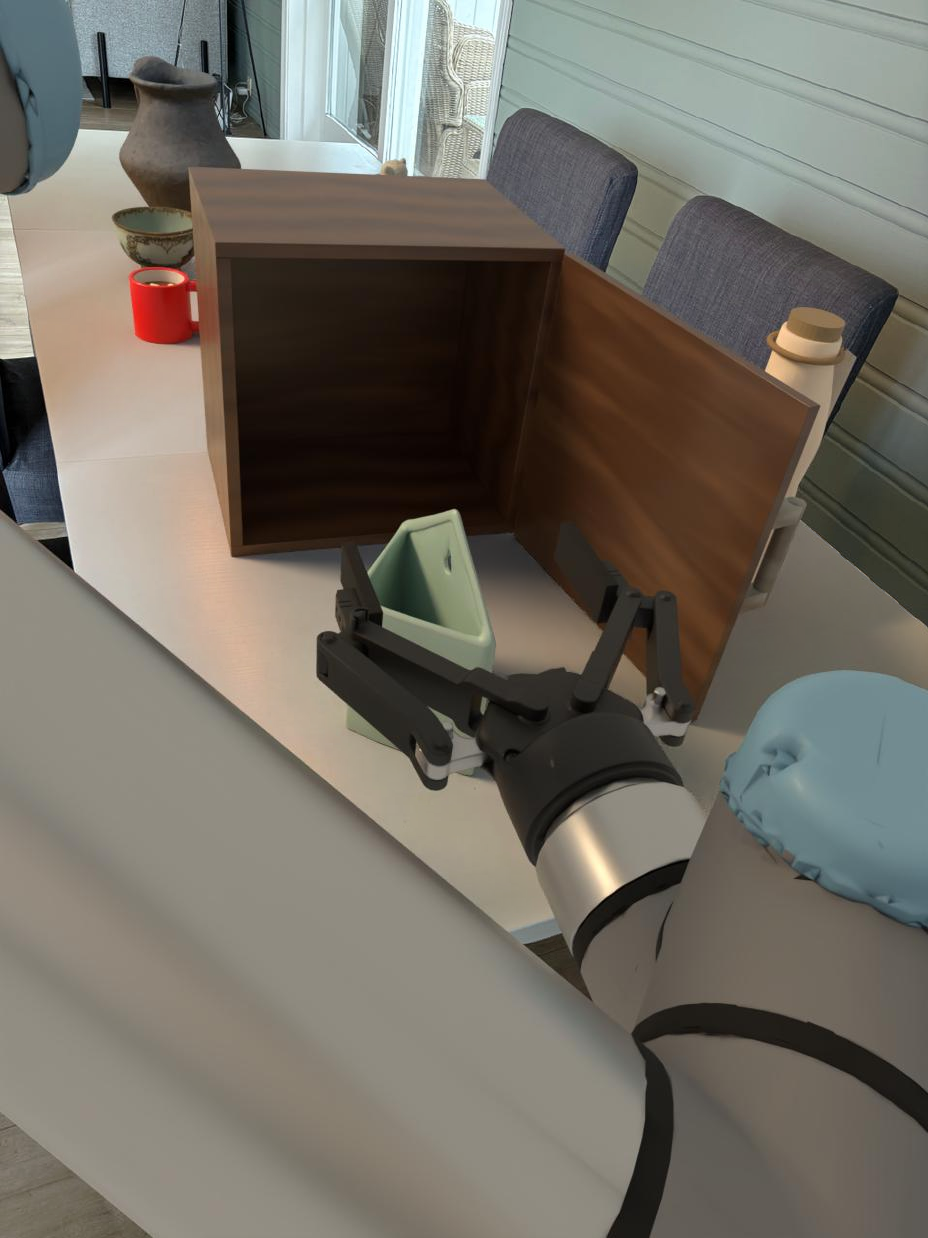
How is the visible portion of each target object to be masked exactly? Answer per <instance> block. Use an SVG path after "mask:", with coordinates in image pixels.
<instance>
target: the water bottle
mask: <svg viewBox="0 0 928 1238" xmlns="http://www.w3.org/2000/svg"><path fill="white" fill-rule="evenodd" d="M845 327H846V321H845V320H844V319H843V318H842V317H840V316H839V315H837V314H836V313H833V312H830V311H827V310H824V309H821V308H815V307H809V306H798V307H794V308H792V309H791V310H790V312H789V316H788V319H787V321H785V322H784V323H782V326H781V327H780V329H779V330H775V331H772V332H771V333H769V334H768V335H767V337H766V340H765V341H766V345H767V346H768V347H769V349H770V350H771V354H770V356H769V359H768V361H767V364H766V367H765V370H764V371H765V372H767V373H769V374H770V375H772V376H773V377H775V378H777V379H778V380H780V381H782V382H783V383H785V384H786V385H788V386H790V387H791V388H793V389H795V390H796V391H798V392H799V393H801V394H803V395H804V396H806V397H808V398H809V399H811V400H812V401H814V402H816V403H817V404H819V405H820V409H819V411H818V414H817V417H816V419H815V422H814V424H813V427H812V429H811V432H810V434H809V437H808V439H807V442H806V444H805V447H804V449H803V452H802V455H801V457H800V460H799V462H798V465H797V467H796V470H795V472H794V475H793V477H792V480H791V482H790V485H789V487H788V490H787V493H786V495H785V498H787V497H796V495H797V492H798V489H799V485H800V483H801V482H802V480H803V478H804V476H805V475H806V472H807V471H808V469H809V467H810V465H811V463H812V462H813V460H814V458H815V456H816V454H817V452H818V450H819V448H820V445H821V443H822V441H823V437H824V434H825V429H826V426H827V422H828V420H829V418H830V416H831V413H832V412H833V410H834V407H835V405H836V403H837V401H838V398H839V396H840V394H841V392H842V390H843V388H844V386H845V384H846V382H847V380H848V377H849V375H850V373H851V371H852V368H853V367H854V364H855V362H856V360H857V358H858V357H857V356H856V355H855V354H853V353H852V352H851V351H850V350H849V349H847V347H845V346H844V345H843V344H842V343H843V337H842V334H843V331H844V329H845ZM774 339H776V340H775V341H774ZM773 531H774V529H773V530H772V531H771V533H770V536H769V538H768V541H767V543H766V546H765V548H764V551H763V553H762V556H761V558H760V561H759V564H758V566H757V569H756V571H755V574H754V576H753V579H752V581H751V583H753V582H754V579H755V577H756V574H757V572H758V569H759V567H760V564H761V561H762V559H763V556H764V554H765V551H766V549H767V546H768V544H769V541H770V539H771V536H772V534H773Z"/></svg>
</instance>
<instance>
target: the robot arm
mask: <svg viewBox="0 0 928 1238" xmlns="http://www.w3.org/2000/svg"><path fill="white" fill-rule="evenodd" d="M77 37H78V36H77V31H76V27H75V23H74V19H73V15H72V11H71V7H70V6H69V4H68V2H67V0H0V195H3V196H13V197H14V196H20V195H24V194H28V193H29V192H31V191H32V190H34V189H35V188H36V186H37V184H38V183H41V182H43V181H46V180H47V179H49V178H51V177H53V176H54V175H55V174H56V173H58V171H59V170H60V169H61V168H62V167H63V165H64V164H65V163H66V161H67V160H68V159H69V157H70V155H71V153H72V150H73V149H74V147H75V143H76V141H77V139H78V135H79V131H80V126H81V120H82V119H81V118H82V111H83V110H82V109H83V94H84V93H83V74H82V73H83V72H82V71H83V69H82V61H81V54H80V47H79V43H78V38H77ZM340 549H341V551H340V555H341V556H340V578H339V579H340V584H341V587H342V588H341V589H337V590H336V593H335V602H334V603H335V604H334V605H335V607H334V618H335V620H336V623H337V626H338V629H339V632H338V633H337V632H336V631H331V630H325V631H322V632H320V633H318V635H317V636H316V653H315V654H316V656H315V657H316V664H315V675H316V678H317V679H318V680H319V681H320V682H321V683H322V684H323V685H324V686H325V687H327V688H328V689H329V691H331V692H332V693H334V694H335V695H336V696H337V697H338V698H339V699H340V700H342V702H344V703H345V705H346V704H348V705H349V706H350V707H351V708H352V709H353V710H354V711H356V712H357V713H358V714H359V715H360V716H361V717H362V718H364V719H365V720H366V721H367V722H368V723H369V724H370V725H372V726H373V727H374V728H375V729H376V730H377V731H379V732H380V733H381V734H382V735H383V736H384V737H385V738H387V739H388V740H389V741H390V742H391V743H392V744H393V745H395V746H396V747H397V748H398V749H399V750H398V749H397V750H398V751H400V752H401V753H402V754H404V755H405V757H407V758H408V759H409V762H410V763H411V764H412V767H413V768H414V770H415V772H416V774H417V776H418V777H419V779H420V781H421V783H422V785H423V786H424V787H425V789H428V790H429V791H435V792H437V791H442V790H444V789H445V788H446V787H447V786H448V783H449V776H450V775H452V774H457V773H458V772H460V771H464V770H467V769H471V768H474V767H475V768H477V767H478V768H480V769H481V770H483V771H484V772H485V773H486V774H488V775H489V776H490V778H492V779H493V780H494V782H495V784H496V786H497V788H498V789H497V790H498V792H499V794H500V798H501V801H502V803H503V806H504V808H505V810H506V813H507V815H508V817H509V820H510V822H511V824H512V826H513V828H514V830H515V833H516V835H517V837H518V840H519V841H520V844H521V847H522V849H523V850H524V853H525V855H526V857H527V859H528V861H529V862H530V864H531V865H532V866H533V867H535V872H536V877H537V881H538V883H539V886H540V888H541V891H542V892H543V894H544V896H545V899H546V901H547V902H548V903H547V904H548V905H549V908H550V910H551V912H552V915H553V917H554V918H555V921H556V923H557V925H558V928H559V930H560V932H561V934H562V936H563V938H564V941H565V943H566V946H567V947H568V950H569V952H570V954H571V956H572V958H573V961H574V964H575V966H576V968H577V971H578V973H579V974H580V977H582V979H583V982H584V984H585V987H586V989H587V991H588V993H589V996H590V998H591V999H589V998H588V996H586V995H585V994H584V993H582V992H581V991H580V990H578V988H576V987H575V986H574V985H572V983H570V982H569V981H568V980H567V979H565V977H564V976H562V975H561V974H559V973H558V972H557V971H556V970H554V969H553V968H552V967H551V966H550V965H548V964H547V963H546V962H545V961H544V960H543V959H541V958H540V957H539V956H537V955H536V953H534V952H533V951H532V950H530V949H529V948H528V947H527V946H526V945H524V944H523V943H522V942H521V941H519V939H517V938H516V937H515V936H514V935H512V934H511V933H510V932H509V931H508V930H507V929H506V928H504V927H503V926H502V925H501V924H499V923H498V922H496V921H495V920H494V919H493V918H492V917H491V916H490V915H488V914H487V913H486V912H485V911H483V909H481V908H480V907H478V905H477V904H475V902H473V901H471V899H469V898H468V897H467V896H466V895H464V894H463V893H462V892H461V891H460V890H459V889H457V888H456V887H455V886H453V885H452V884H451V883H450V882H449V881H448V880H446V878H444V877H443V876H442V875H441V874H439V873H438V872H437V871H436V870H434V869H433V868H432V867H431V866H430V865H429V864H428V863H426V862H424V861H423V859H421V858H420V857H419V856H417V855H416V854H415V853H414V852H412V851H411V850H410V849H409V848H408V847H407V846H406V845H404V844H403V843H402V842H400V841H399V840H398V839H397V838H396V837H395V836H394V835H392V834H391V832H389V831H387V830H386V829H385V828H384V827H382V826H381V824H379V823H377V822H376V820H374V819H373V818H372V817H371V816H369V815H368V814H367V813H366V812H365V811H363V810H362V809H361V808H360V807H358V806H357V805H356V804H355V803H354V802H353V801H351V800H350V799H349V798H348V797H346V796H345V795H344V794H343V793H342V792H340V791H339V790H338V789H337V788H336V787H335V786H333V785H332V784H331V783H329V782H328V781H327V780H326V779H325V778H324V777H322V776H321V775H320V774H319V773H318V772H316V770H314V769H313V768H312V767H311V766H309V765H308V764H307V763H305V762H304V761H303V760H302V759H301V758H300V757H298V756H297V755H296V754H295V753H294V752H292V750H290V749H288V747H286V745H284V744H283V743H282V742H280V741H279V740H278V739H276V738H275V736H273V735H272V734H271V733H269V732H268V731H267V730H266V729H265V728H264V727H262V726H261V725H260V724H259V723H258V722H256V721H255V720H254V719H253V718H252V717H250V716H249V715H248V714H247V713H246V712H244V711H243V710H242V709H240V707H238V706H237V705H236V704H234V703H233V702H232V701H231V700H230V699H229V698H227V697H226V696H225V695H224V694H223V693H222V692H220V691H219V690H217V688H215V687H214V686H213V685H212V684H211V683H209V682H208V681H207V680H206V679H204V678H203V677H202V675H200V674H199V673H197V672H196V671H195V670H194V669H192V668H191V667H190V666H189V665H188V664H186V663H185V662H184V661H183V660H182V659H181V658H180V657H178V656H177V655H175V654H174V652H172V651H171V650H170V649H168V648H167V647H166V646H165V645H164V644H162V643H161V642H160V641H159V640H158V639H157V638H155V637H154V636H153V635H151V634H150V633H149V632H148V631H147V630H145V629H144V628H143V627H142V626H141V625H139V623H137V622H136V621H135V620H133V618H131V617H130V616H129V615H127V613H125V612H124V611H122V609H120V608H119V607H118V606H117V605H116V604H115V603H113V602H112V601H111V600H110V599H108V598H107V597H106V596H105V595H104V594H102V593H101V592H100V591H99V590H97V589H96V588H95V587H94V586H92V585H91V584H90V583H89V582H88V581H87V580H86V579H85V578H83V577H82V576H81V575H79V574H78V573H77V572H76V571H75V570H73V569H72V568H71V567H70V566H68V564H66V563H65V562H64V561H63V560H61V559H60V558H59V557H58V556H57V555H55V554H54V553H53V552H52V551H50V549H48V548H47V547H46V546H44V545H43V544H42V543H41V542H40V541H38V540H37V539H36V538H35V537H34V536H32V535H31V534H30V533H29V532H27V530H25V529H24V528H23V527H22V526H20V525H19V524H18V523H17V522H15V521H14V520H13V519H12V518H11V517H9V515H7V514H6V513H5V512H4V511H3V510H1V509H0V1113H1V1114H2V1115H4V1116H5V1117H6V1118H7V1119H9V1120H10V1121H11V1122H12V1123H13V1124H15V1125H16V1126H17V1127H18V1128H20V1129H21V1130H22V1131H23V1132H24V1133H25V1134H27V1135H28V1136H29V1137H30V1138H32V1139H33V1140H34V1141H35V1142H36V1143H37V1144H39V1145H40V1146H41V1147H42V1148H44V1149H45V1150H46V1151H48V1152H49V1153H50V1154H51V1155H52V1156H53V1157H55V1158H56V1159H57V1160H58V1161H60V1163H62V1164H63V1165H64V1166H66V1167H67V1168H68V1169H69V1170H70V1171H72V1172H73V1173H74V1174H75V1175H77V1176H78V1177H79V1178H80V1179H82V1180H83V1181H84V1182H85V1183H86V1184H87V1185H89V1187H91V1188H92V1189H93V1190H95V1191H96V1192H97V1193H98V1194H99V1195H100V1196H102V1197H104V1198H105V1200H107V1201H108V1202H109V1203H111V1204H112V1205H113V1206H114V1207H115V1208H116V1209H117V1210H119V1211H120V1212H121V1213H122V1214H124V1216H126V1217H127V1218H129V1219H130V1220H131V1221H132V1222H133V1223H135V1224H136V1225H137V1226H138V1227H140V1229H142V1230H143V1231H144V1232H145V1233H147V1234H148V1235H149V1236H150V1237H152V1238H928V689H925V688H923V687H920V686H918V685H915V684H912V683H909V682H907V681H905V680H903V679H901V678H900V677H897V676H893V675H890V674H885V673H880V672H873V671H863V670H855V669H854V670H852V669H840V670H839V669H837V670H830V671H829V670H828V671H821V672H816V673H812V674H807V675H804V676H801V677H798V678H796V679H794V680H791V681H790V682H788V683H786V684H784V685H783V686H782V687H780V688H778V689H777V690H776V691H774V692H772V694H770V695H769V697H768V698H767V699H766V700H765V701H764V703H763V704H762V705H761V706H760V708H759V709H758V711H757V712H756V714H755V716H754V718H753V720H752V722H751V724H750V725H749V727H748V730H747V731H746V734H745V736H744V737H743V740H742V741H741V743H740V745H739V747H738V749H737V750H736V751H734V752H732V753H731V754H730V755H729V756H728V757H727V758H726V759H725V760H724V767H723V771H724V772H725V773H724V774H723V775H722V777H721V779H720V781H719V790H718V791H717V794H716V797H715V799H714V802H713V804H712V807H711V808H710V811H709V812H708V813H709V814H708V815H707V814H706V813H705V811H704V809H703V808H702V807H701V805H700V803H699V801H698V800H697V799H696V797H695V795H694V794H693V793H692V792H690V791H689V790H688V789H687V788H686V787H685V786H684V781H683V779H682V777H681V775H680V774H679V772H678V770H677V768H676V767H675V765H674V764H673V763H672V761H671V759H670V758H669V756H668V755H667V754H666V751H665V750H664V749H663V747H662V745H661V744H660V742H659V741H658V739H657V738H656V737H658V738H659V739H660V741H661V742H662V743H663V744H664V745H666V746H669V747H673V748H678V747H680V746H682V745H683V743H684V740H685V737H686V736H687V733H688V730H689V727H690V725H691V720H692V717H693V714H694V711H695V708H696V704H695V702H694V700H693V698H692V697H691V695H690V693H689V691H688V690H687V688H686V686H685V684H684V682H683V681H682V672H681V657H680V642H679V627H678V612H677V598H676V596H675V595H674V594H673V593H671V592H669V591H665V590H661V591H658V592H656V594H655V597H654V596H645V595H643V594H642V592H641V591H640V590H639V589H636V588H633V587H631V586H630V585H629V584H628V582H627V581H626V580H625V578H624V577H623V576H622V574H621V573H620V572H619V570H618V569H617V568H616V566H615V565H614V564H612V563H611V562H609V561H601V560H600V559H599V557H598V556H597V554H596V553H595V552H594V550H593V549H592V548H591V546H590V545H589V543H588V542H587V541H586V539H585V538H584V537H583V535H582V534H581V532H580V531H579V530H578V528H577V527H576V526H575V524H574V523H573V522H565V523H561V528H560V533H559V538H558V542H557V547H556V552H555V557H554V560H555V561H556V563H557V564H558V566H559V567H560V569H561V570H562V572H563V573H564V575H565V576H566V578H567V579H568V581H569V582H570V584H571V585H572V587H573V588H574V590H575V591H576V593H577V594H578V596H579V597H580V599H581V600H582V602H583V603H584V605H585V606H586V608H587V609H588V611H589V612H590V614H591V615H592V617H593V618H594V620H595V621H596V623H597V624H600V623H607V624H606V626H605V628H604V630H603V631H602V633H601V634H600V637H599V638H598V641H597V644H596V645H595V648H594V649H593V650H592V651H591V653H590V655H589V658H588V660H587V661H586V664H585V665H584V668H583V671H582V673H581V674H580V673H577V672H573V671H567V669H566V668H565V666H562V667H555V668H549V669H547V670H544V671H542V672H539V673H514V674H507V675H506V679H505V678H503V677H501V676H499V675H496V674H495V673H493V672H492V673H491V672H489V671H487V670H485V669H483V668H480V667H476V668H474V669H473V670H468V669H466V668H464V667H462V666H460V665H458V664H456V663H454V662H452V661H450V660H448V659H446V658H444V657H442V656H440V655H438V654H436V653H434V652H432V651H430V650H428V649H426V648H424V647H422V646H420V645H417V644H415V643H413V642H411V641H409V640H407V639H405V638H403V637H401V636H399V635H397V634H395V633H393V632H391V631H389V630H387V629H385V628H383V627H382V623H383V611H382V608H381V606H380V603H379V601H378V598H377V596H376V593H375V591H374V588H373V586H372V583H371V581H370V578H369V576H368V573H367V572H368V571H367V568H366V566H365V563H364V561H363V558H362V556H361V553H360V551H359V548H358V546H356V543H355V541H354V542H343V543H342V547H341V548H340ZM596 623H595V624H596ZM634 627H639V628H645V641H646V677H645V684H646V686H645V687H646V696H645V699H644V702H643V704H642V707H641V709H640V708H639V707H638V706H637V705H636V704H635V703H634V702H632V701H630V700H629V699H627V698H625V697H623V696H622V695H619V694H618V693H616V692H614V691H612V690H610V689H609V688H610V686H611V683H612V681H613V678H614V677H615V673H616V672H617V670H618V667H619V664H620V662H621V660H622V657H623V655H624V653H623V652H624V650H625V648H626V645H627V643H628V640H630V638H631V635H632V631H633V628H634ZM482 697H484V698H486V699H487V701H488V700H489V701H488V704H487V705H486V708H485V712H484V715H483V714H482V713H481V710H480V708H481V703H482ZM427 706H428V707H429V708H431V709H433V710H435V711H437V712H439V713H441V714H443V715H445V716H447V717H449V718H450V719H452V720H453V722H454V724H455V726H456V727H457V729H458V730H460V731H461V732H463V733H465V734H467V735H468V736H470V737H472V738H465V737H462V736H460V735H459V734H458V733H457V732H455V731H454V730H453V724H452V723H451V722H448V721H444V722H442V723H441V722H440V721H439V719H438V718H437V716H436V715H435V714H434V713H433V712H432V711H431V710H430V709H429V708H428V707H427ZM475 768H474V769H475Z"/></svg>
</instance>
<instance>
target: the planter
mask: <svg viewBox="0 0 928 1238" xmlns="http://www.w3.org/2000/svg"><path fill="white" fill-rule="evenodd" d="M449 558H450V567H451V568H450V567H449ZM367 573H368V576H369V578H370V581H371V583H372V586H373V588H374V591H375V593H376V596H377V598H378V601H379V603H380V606H381V608H382V611H383V623H382V627H383V628H385V629H387V630H389V631H391V632H393V633H395V634H397V635H399V636H401V637H403V638H405V639H407V640H409V641H411V642H413V643H415V644H417V645H420V646H422V647H424V648H426V649H428V650H430V651H432V652H434V653H436V654H438V655H440V656H442V657H444V658H446V659H448V660H450V661H452V662H454V663H456V664H458V665H460V666H462V667H464V668H466V669H468V670H473V669H474V668H476V667H480V668H483V669H485V670H487V671H489V672H491V673H493V669H494V664H495V658H496V650H497V642H496V638H495V634H494V630H493V627H492V624H491V619H490V616H489V612H488V609H487V605H486V601H485V597H484V593H483V591H482V588H481V587H482V586H481V583H480V580H479V577H478V573H477V571H476V567H475V564H474V560H473V556H472V553H471V548H470V545H469V541H468V538H467V536H466V534H465V531H464V527H463V523H462V519H461V516H460V513H459V512H458V510H456V509H453V510H449V511H446V512H443V513H439V514H436V515H431V516H426V517H421V518H417V519H410V520H406V521H405V522H403V523H402V524H401V526H400V527H399V529H398V531H397V532H396V534H395V535H394V537H393V538H392V539H391V541H390V542H389V543H387V545H386V546H385V548H384V549H383V550H382V552H381V553H380V554H379V556H378V557H377V558H376V559H375V561H374V563H373V564H372V566H371V567H370V568H369V569H368V571H367ZM487 702H488V699H486V698H484V697H482V703H481V708H480V710H481V713H482V714H483V715H484V712H485V710H486V708H487ZM427 707H428V706H427ZM428 708H429V707H428ZM429 709H430V710H431V711H432V712H433V713H434V714H435V715H436V716H437V718H438V719H439V721H440V722H441V723H442V722H444V721H448V722H451V723H452V724H453V730H454V731H455V732H457V733H458V734H459V735H460V736H462V737H465V738H472V737H470V736H468V735H467V734H465V733H463V732H461V731H460V730H458V729H457V727H456V726H455V724H454V722H453V720H452V719H450V718H449V717H447V716H445V715H443V714H441V713H439V712H437V711H435V710H433V709H431V708H429ZM344 722H345V723H344V725H345V727H346V729H349V730H350V731H353V732H354V733H357V734H359V735H361V736H364V737H366V738H368V739H370V740H372V741H374V742H377V743H379V744H382V745H385V746H388V747H389V748H393V749H395V750H398V751H400V750H399V749H398V748H397V747H396V746H395V745H393V744H392V743H391V742H390V741H389V740H388V739H387V738H385V737H384V736H383V735H382V734H381V733H380V732H379V731H377V730H376V729H375V728H374V727H373V726H372V725H370V724H369V723H368V722H367V721H366V720H365V719H364V718H362V717H361V716H360V715H359V714H358V713H357V712H356V711H354V710H353V709H352V708H351V707H350V706H349V705H348V704H346V703H345V721H344ZM475 768H476V767H474V768H471V769H467V770H464V771H460V772H457V773H458V774H461V775H465V776H473V775H474V772H475Z"/></svg>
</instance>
